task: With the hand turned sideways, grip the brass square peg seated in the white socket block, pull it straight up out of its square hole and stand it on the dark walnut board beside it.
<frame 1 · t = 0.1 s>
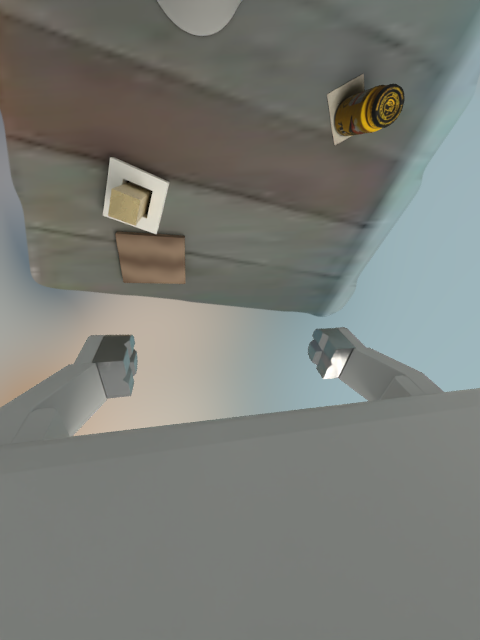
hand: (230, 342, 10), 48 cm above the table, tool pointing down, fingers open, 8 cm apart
condiment: (346, 112, 46), on the table
peg: (138, 197, 47), resting in socket block
socket block: (138, 197, 47), on the table
board: (154, 257, 54), on the table
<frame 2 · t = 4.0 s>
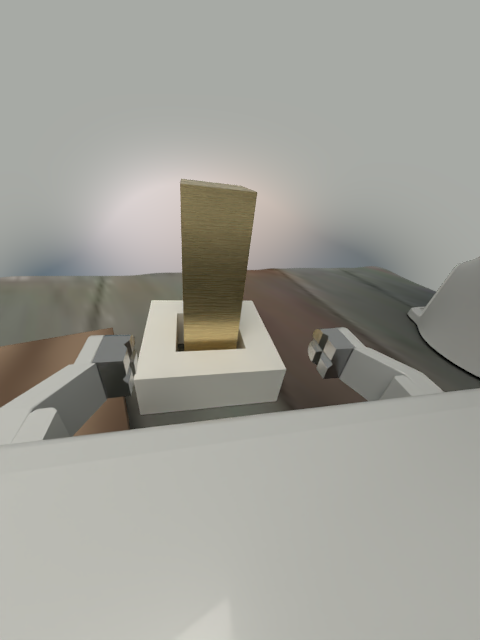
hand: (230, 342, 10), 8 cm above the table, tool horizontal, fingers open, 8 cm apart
peg: (207, 360, 21), resting in socket block
socket block: (207, 360, 21), on the table
board: (26, 434, 14), on the table
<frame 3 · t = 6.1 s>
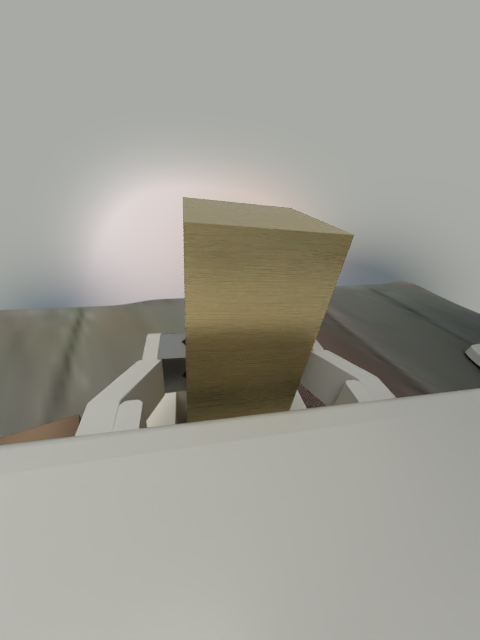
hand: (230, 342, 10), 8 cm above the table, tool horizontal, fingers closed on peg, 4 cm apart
peg: (220, 458, 14), resting in socket block, touching gripper
socket block: (220, 458, 14), on the table
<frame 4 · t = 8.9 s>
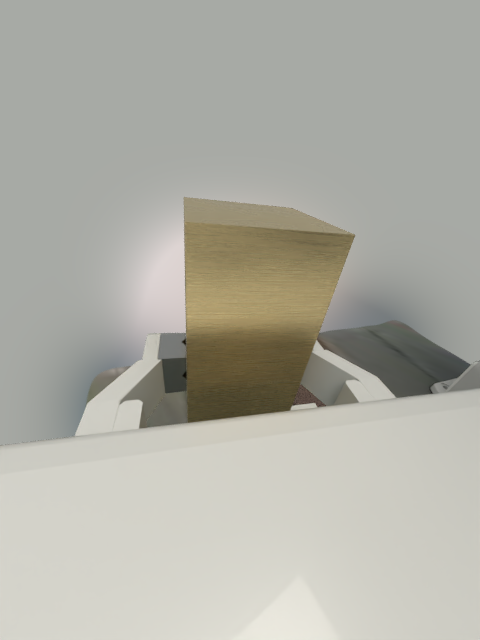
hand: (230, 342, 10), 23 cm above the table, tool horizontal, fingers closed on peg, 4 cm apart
peg: (221, 458, 14), point 14 cm above the table, touching gripper
when the fingers open (12 cm above the table, at t = 11.9 s): peg drops 1 cm, resting on board.
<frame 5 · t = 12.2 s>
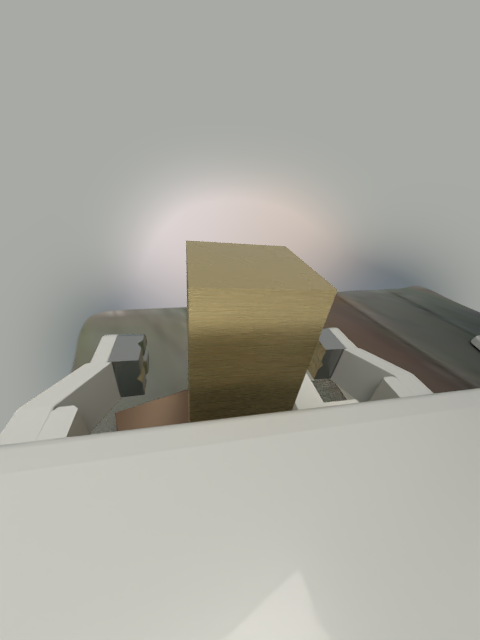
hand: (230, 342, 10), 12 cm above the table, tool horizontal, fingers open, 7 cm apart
peg: (220, 469, 15), point 2 cm above the table, touching board
socket block: (323, 400, 23), on the table
board: (217, 482, 16), on the table
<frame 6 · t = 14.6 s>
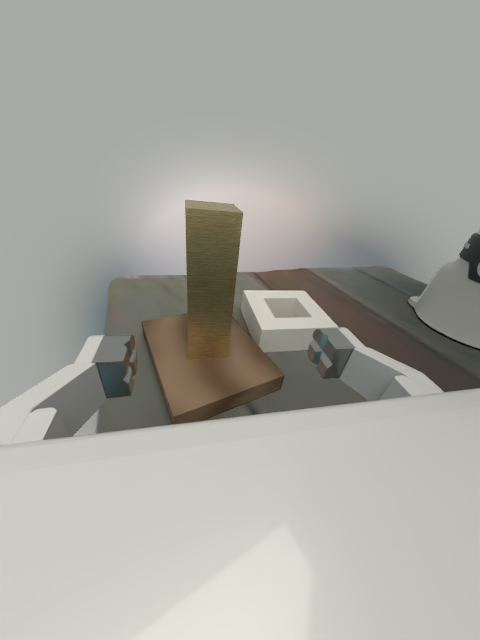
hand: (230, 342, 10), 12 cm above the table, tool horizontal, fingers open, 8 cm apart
peg: (206, 346, 25), point 2 cm above the table, touching board
socket block: (281, 327, 34), on the table
board: (205, 359, 27), on the table
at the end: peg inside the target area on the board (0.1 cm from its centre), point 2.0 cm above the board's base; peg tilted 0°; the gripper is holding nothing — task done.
